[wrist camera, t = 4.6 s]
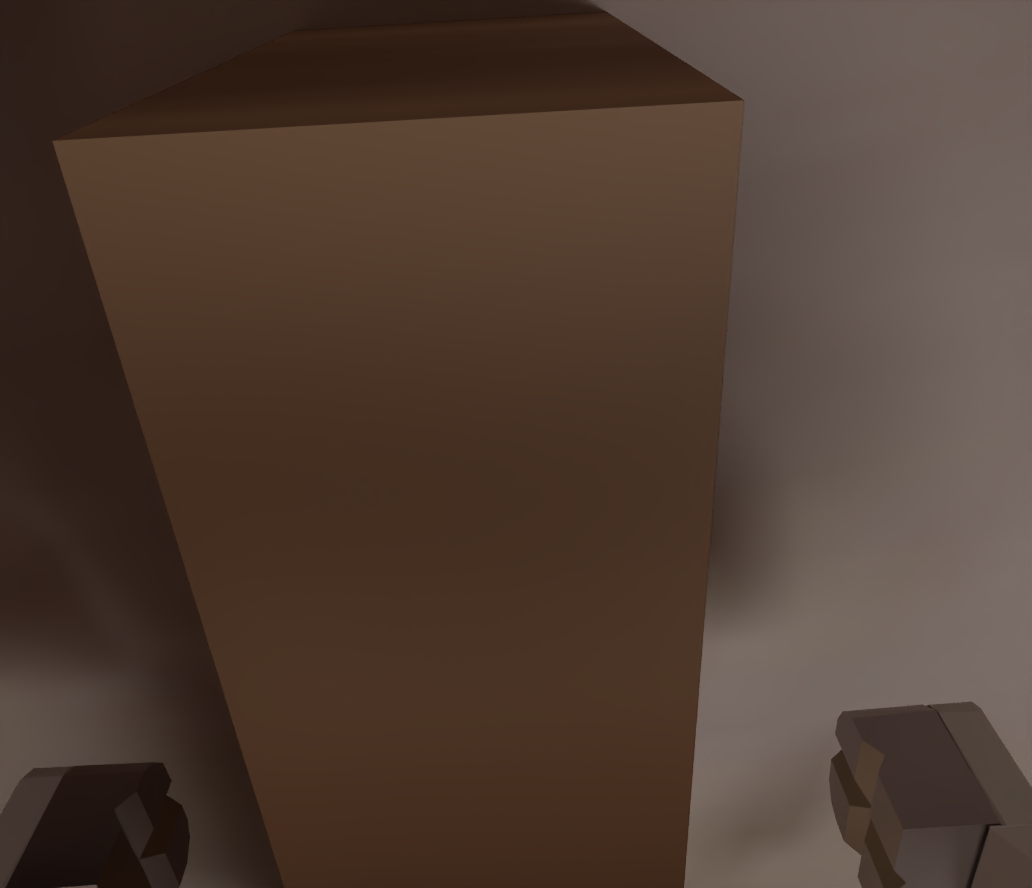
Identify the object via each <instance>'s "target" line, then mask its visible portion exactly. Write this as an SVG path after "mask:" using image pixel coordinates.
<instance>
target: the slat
mask: <svg viewBox="0 0 1032 888" xmlns="http://www.w3.org/2000/svg"><path fill="white" fill-rule="evenodd" d="M743 109H744V100H743V99H741V98H740V97H738V96H737V95H735V94H734V93H732V92H730V91H729V90H727V89H726V88H724V87H723V86H721V85H720V84H718V83H716V82H715V81H713V80H712V79H710V78H709V77H707V76H706V75H704V74H702V73H701V72H699V71H698V70H696V69H695V68H693V67H692V66H690V65H688V64H687V63H685V62H684V61H682V60H681V59H679V58H678V57H676V56H674V55H673V54H671V53H670V52H668V51H667V50H665V49H664V48H662V47H660V46H659V45H657V44H656V43H654V42H653V41H651V40H650V39H648V38H647V37H645V36H643V35H642V34H640V33H639V32H637V31H636V30H634V29H633V28H631V27H629V26H628V25H626V24H625V23H623V22H622V21H620V20H619V19H617V18H615V17H614V16H612V15H611V14H609V13H608V12H596V13H579V14H562V15H545V16H528V17H512V18H495V19H478V20H461V21H444V22H427V23H410V24H394V25H377V26H360V27H343V28H326V29H309V30H295V31H293V32H290V33H288V34H286V35H284V36H282V37H279V38H277V39H275V40H273V41H271V42H268V43H266V44H264V45H262V46H260V47H257V48H255V49H253V50H251V51H249V52H246V53H244V54H242V55H240V56H238V57H236V58H233V59H231V60H229V61H227V62H225V63H222V64H220V65H218V66H216V67H214V68H211V69H209V70H207V71H205V72H203V73H200V74H198V75H196V76H194V77H192V78H189V79H187V80H185V81H183V82H181V83H178V84H176V85H174V86H172V87H170V88H167V89H165V90H163V91H161V92H159V93H156V94H154V95H152V96H150V97H148V98H145V99H143V100H141V101H139V102H137V103H134V104H132V105H130V106H128V107H126V108H123V109H121V110H119V111H117V112H115V113H112V114H110V115H108V116H106V117H104V118H101V119H99V120H97V121H95V122H93V123H90V124H88V125H86V126H84V127H82V128H79V129H77V130H75V131H73V132H71V133H68V134H66V135H64V136H62V137H60V138H57V139H55V140H53V141H52V142H53V145H54V148H55V152H56V155H57V158H58V161H59V165H60V168H61V171H62V174H63V177H64V181H65V184H66V187H67V190H68V194H69V197H70V200H71V203H72V206H73V210H74V213H75V216H76V219H77V223H78V226H79V229H80V232H81V235H82V239H83V242H84V245H85V248H86V252H87V255H88V258H89V261H90V264H91V268H92V271H93V274H94V277H95V281H96V284H97V287H98V290H99V293H100V297H101V300H102V303H103V306H104V309H105V313H106V316H107V319H108V322H109V326H110V329H111V332H112V335H113V338H114V342H115V345H116V348H117V351H118V355H119V358H120V361H121V364H122V367H123V371H124V374H125V377H126V380H127V384H128V387H129V390H130V393H131V396H132V400H133V403H134V406H135V409H136V413H137V416H138V419H139V422H140V425H141V429H142V432H143V435H144V438H145V441H146V445H147V448H148V451H149V454H150V458H151V461H152V464H153V467H154V470H155V474H156V477H157V480H158V483H159V487H160V490H161V493H162V496H163V499H164V503H165V506H166V509H167V512H168V516H169V519H170V522H171V525H172V528H173V532H174V535H175V538H176V541H177V545H178V548H179V551H180V554H181V557H182V561H183V564H184V567H185V570H186V574H187V577H188V580H189V583H190V586H191V590H192V593H193V596H194V599H195V602H196V606H197V609H198V612H199V615H200V619H201V622H202V625H203V628H204V631H205V635H206V638H207V641H208V644H209V648H210V651H211V654H212V657H213V660H214V664H215V667H216V670H217V673H218V677H219V680H220V683H221V686H222V689H223V693H224V696H225V699H226V702H227V706H228V709H229V712H230V715H231V718H232V722H233V725H234V728H235V731H236V734H237V738H238V741H239V744H240V747H241V751H242V754H243V757H244V760H245V763H246V767H247V770H248V773H249V776H250V780H251V783H252V786H253V789H254V792H255V796H256V799H257V802H258V805H259V809H260V812H261V815H262V818H263V821H264V825H265V828H266V831H267V834H268V838H269V841H270V844H271V847H272V850H273V854H274V857H275V860H276V863H277V867H278V870H279V873H280V876H281V879H282V883H283V886H284V888H684V879H685V866H686V853H687V840H688V827H689V814H690V801H691V788H692V775H693V762H694V749H695V736H696V723H697V710H698V697H699V683H700V670H701V657H702V644H703V631H704V618H705V605H706V592H707V579H708V566H709V553H710V540H711V527H712V514H713V501H714V488H715V475H716V462H717V449H718V436H719V423H720V410H721V396H722V383H723V370H724V357H725V344H726V331H727V318H728V305H729V292H730V279H731V266H732V253H733V240H734V227H735V214H736V201H737V188H738V175H739V162H740V149H741V136H742V123H743Z"/></svg>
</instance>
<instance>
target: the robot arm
mask: <svg viewBox="0 0 1032 888" xmlns="http://www.w3.org/2000/svg"><path fill="white" fill-rule="evenodd" d="M835 734H836V737H837V739H838V742H839V744H840V746H841V749H842V750H841V751H840V752H839V753H837V754H836V755H835V756H834V757H833V758H832V759H831V766H830V775H829V783H830V793H831V802H832V806H833V810H834V814H835V817H836V821H837V824H838V826H839V829H840V832H841V835H842V837H843V840H844V841H845V842H846V843H847V844H848V845H849V846H851V847H852V848H853V849H854V850H856V851H857V852H858V853H859V854H860V855H862V856H861V861H860V867H859V872H858V879H859V881H860V884H861V886H862V888H1032V787H1031V785H1030V784H1029V782H1028V781H1027V779H1026V778H1025V776H1024V775H1023V773H1022V771H1021V770H1020V768H1019V767H1018V765H1017V764H1016V762H1015V761H1014V759H1013V757H1012V756H1011V754H1010V753H1009V751H1008V750H1007V748H1006V747H1005V745H1004V744H1003V742H1002V740H1001V739H1000V737H999V736H998V734H997V733H996V731H995V730H994V728H993V726H992V725H991V723H990V722H989V720H988V719H987V717H986V716H985V714H984V712H983V711H982V709H981V708H980V707H978V706H977V705H976V704H974V703H973V702H961V703H947V704H934V705H927V706H925V705H913V706H901V707H889V708H877V709H866V710H854V711H843V712H842V713H841V715H840V716H839V718H838V720H837V726H836V732H835ZM171 781H172V780H171V778H170V776H169V774H168V772H167V770H166V768H165V766H164V764H163V763H157V762H150V763H127V764H105V765H83V766H69V767H51V768H34V769H32V770H31V771H30V772H29V773H28V774H27V775H25V776H24V777H23V778H22V779H21V780H20V781H19V783H18V785H17V787H16V788H15V790H14V792H13V794H12V795H11V797H10V799H9V801H8V802H7V804H6V806H5V808H4V809H3V811H2V813H1V815H0V888H179V887H180V884H181V881H182V878H183V875H184V872H185V868H186V865H187V860H188V851H189V841H190V834H189V827H188V819H187V817H186V814H185V812H184V809H183V806H182V805H181V804H179V803H178V802H176V801H175V800H173V799H172V798H170V797H169V796H167V792H168V789H169V787H170V784H171Z"/></svg>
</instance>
